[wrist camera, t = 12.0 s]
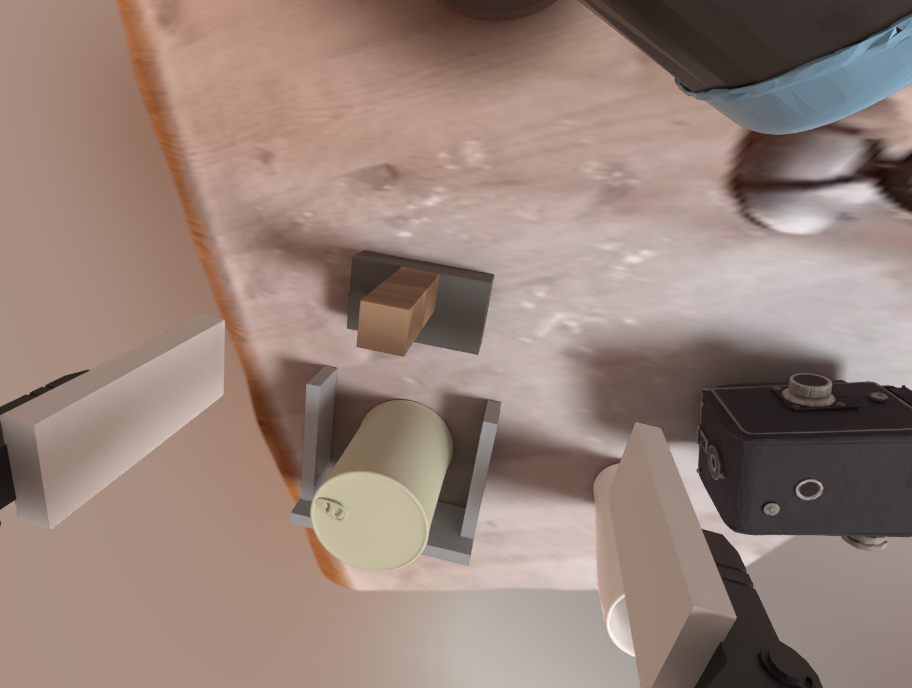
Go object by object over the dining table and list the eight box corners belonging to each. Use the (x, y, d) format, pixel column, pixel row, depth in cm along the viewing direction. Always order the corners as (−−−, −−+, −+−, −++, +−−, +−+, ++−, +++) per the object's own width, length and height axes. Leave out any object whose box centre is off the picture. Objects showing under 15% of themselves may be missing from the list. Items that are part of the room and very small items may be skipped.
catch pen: (324, 365, 47) (296, 393, 42) (501, 402, 46) (495, 437, 40) (316, 483, 52) (290, 523, 46) (476, 520, 51) (468, 565, 45)
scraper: (364, 250, 43) (296, 287, 31) (494, 274, 42) (476, 323, 30) (358, 317, 45) (292, 377, 33) (481, 342, 44) (460, 413, 32)
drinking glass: (620, 528, 48) (654, 679, 34) (568, 483, 48) (581, 620, 34) (678, 486, 46) (738, 631, 32) (624, 439, 45) (662, 566, 31)
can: (376, 383, 47) (325, 454, 36) (468, 423, 47) (446, 507, 36) (346, 460, 50) (292, 547, 39) (433, 498, 50) (403, 595, 39)
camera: (686, 462, 46) (885, 466, 42) (711, 554, 36) (978, 571, 32) (687, 353, 43) (905, 345, 39) (715, 420, 33) (1016, 419, 28)
